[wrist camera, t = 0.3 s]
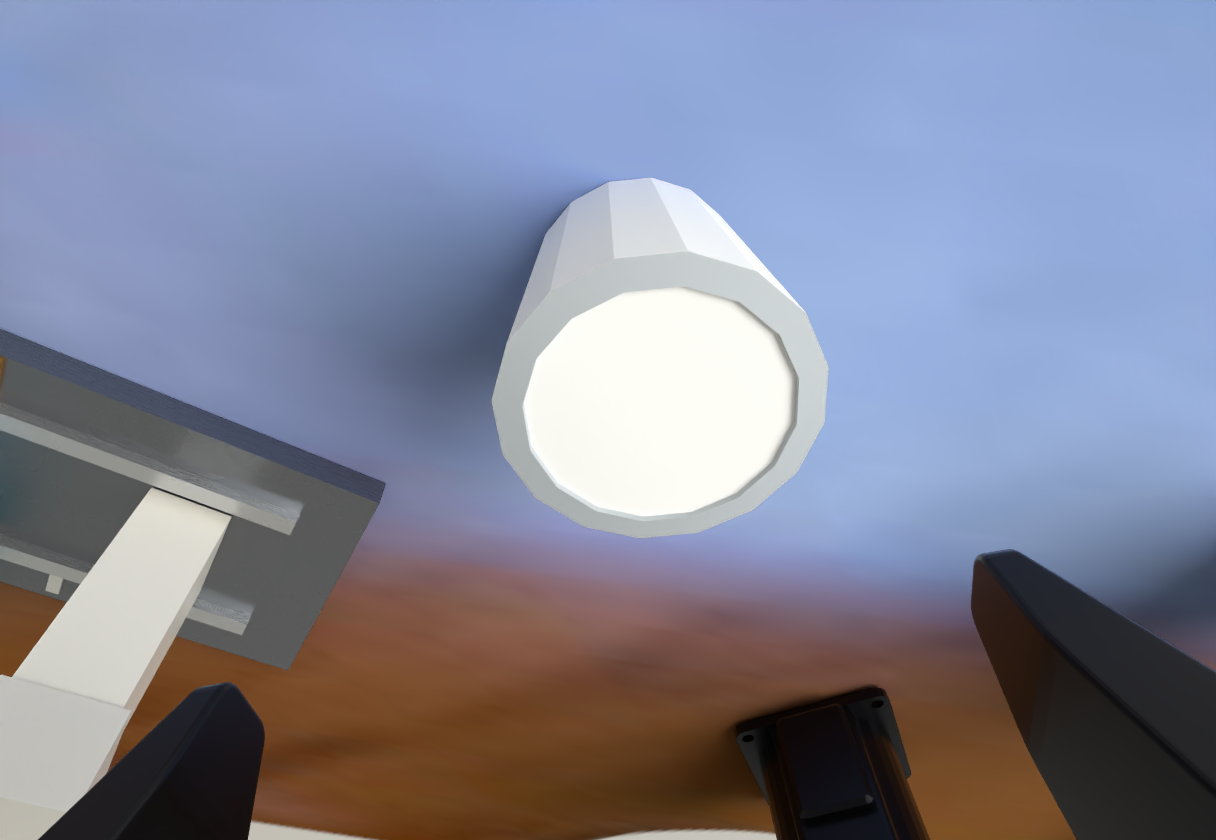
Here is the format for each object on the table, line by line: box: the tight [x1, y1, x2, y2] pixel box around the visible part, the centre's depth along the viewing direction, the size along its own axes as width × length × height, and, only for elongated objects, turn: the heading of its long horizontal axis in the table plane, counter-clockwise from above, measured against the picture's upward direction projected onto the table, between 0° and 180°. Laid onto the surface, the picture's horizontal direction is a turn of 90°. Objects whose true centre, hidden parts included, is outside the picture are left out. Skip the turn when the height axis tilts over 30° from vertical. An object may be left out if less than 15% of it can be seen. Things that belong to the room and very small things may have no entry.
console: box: [0, 329, 386, 670], centre depth 24 cm, size 14×9×1 cm, turn 59°
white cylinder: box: [491, 177, 829, 538], centre depth 18 cm, size 7×7×7 cm
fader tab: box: [0, 488, 231, 840], centre depth 20 cm, size 3×4×10 cm
